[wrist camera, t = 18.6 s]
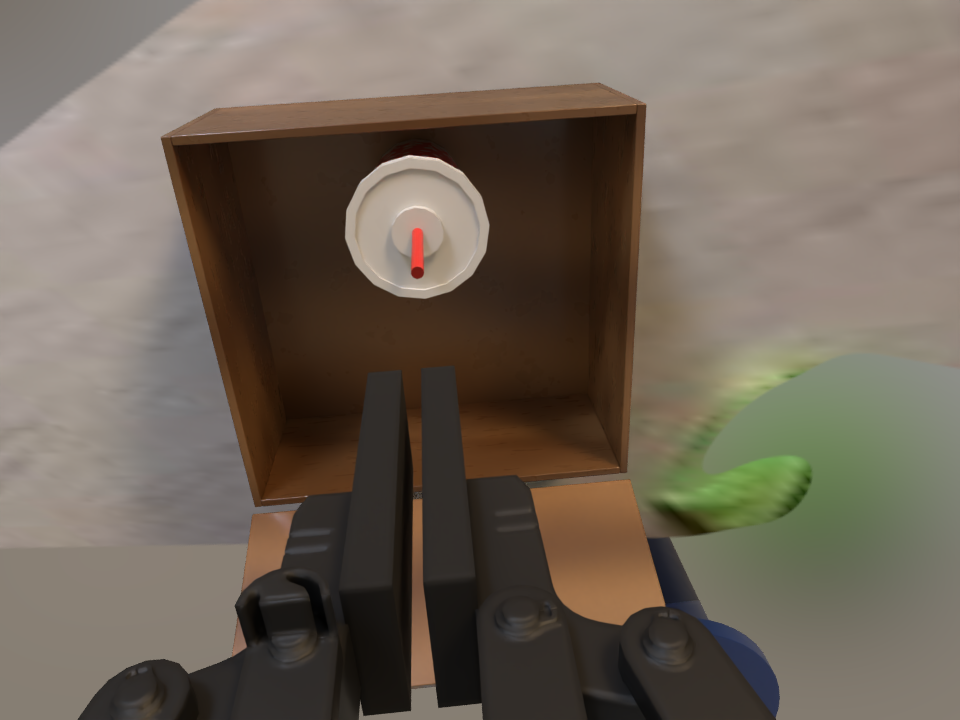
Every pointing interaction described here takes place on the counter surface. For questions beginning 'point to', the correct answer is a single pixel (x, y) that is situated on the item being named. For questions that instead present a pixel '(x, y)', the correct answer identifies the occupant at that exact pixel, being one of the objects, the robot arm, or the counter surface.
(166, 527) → the counter surface
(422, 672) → the flap
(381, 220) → the beverage cup
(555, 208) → the brown open-topped box
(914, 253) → the counter surface
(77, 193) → the counter surface
